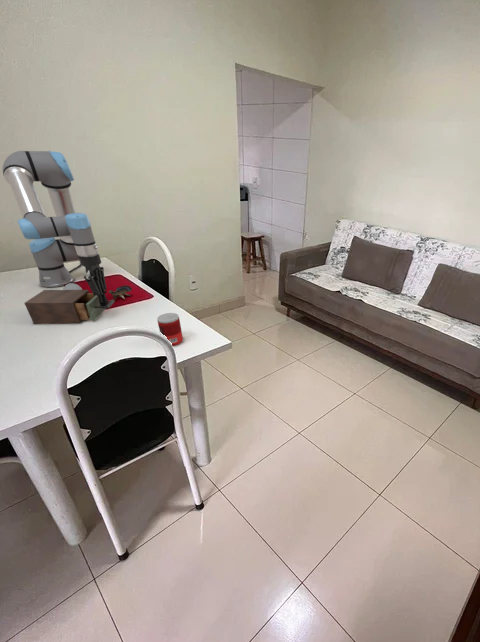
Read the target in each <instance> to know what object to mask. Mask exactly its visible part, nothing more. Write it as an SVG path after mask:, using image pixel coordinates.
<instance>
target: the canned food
mask: <svg viewBox="0 0 480 642" xmlns="http://www.w3.org/2000/svg"><path fill="white" fill-rule="evenodd" d="M156 321H157V326H158V330H159V333H160V332H161V333H162V334H163V335H165V336H166V337H167V339H168V340H169V341H170V342H171V343H172V345H173V346H172V347H175V346H179V345H180V344H182V342H183V340H184V337H183V331H182V326H181V321H180V316H179V314H178V313H176V312H166V313H162V314H160V315H158V316H157V318H156Z"/></svg>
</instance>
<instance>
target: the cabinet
mask: <svg viewBox="0 0 480 642" xmlns="http://www.w3.org/2000/svg"><path fill="white" fill-rule="evenodd" d="M85 294H91V293H90V290H89V289H82V290H63V289H43V290H42V291H40V292H39V293H37V294H36V295H34V296H32V297H31V298H29V299H28V300H26V301H25V302H24V306H25V308H26V310H27V312H28V314H29V317H30V319H31V321H32V323H33V325H62V324H63V325H75V324H76V325H78V324H79V325H80V324H82V323H83V322H84V321H85V320H86V319H80V318H79V315H78V313H77V310H76V307H75V305H74V304H75V303H76V302H77V301H78V300H80V299H81V298H82V297H83V296H84V295H85Z"/></svg>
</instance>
